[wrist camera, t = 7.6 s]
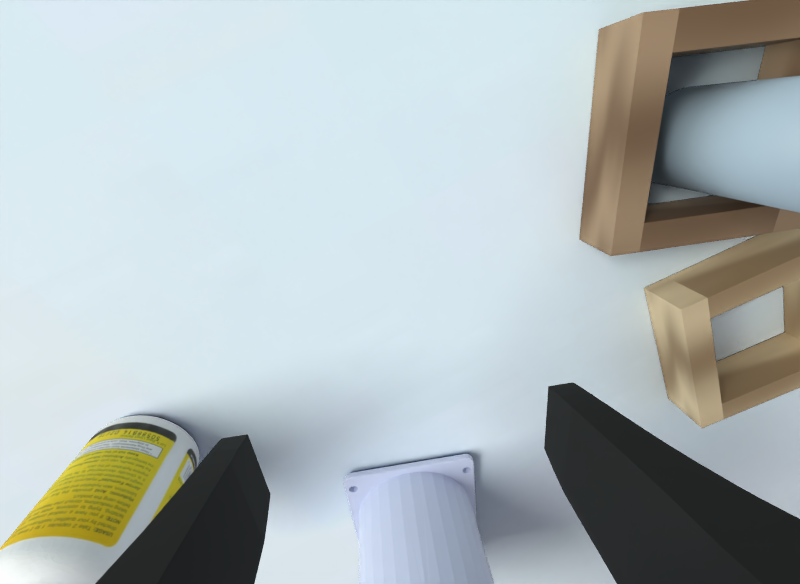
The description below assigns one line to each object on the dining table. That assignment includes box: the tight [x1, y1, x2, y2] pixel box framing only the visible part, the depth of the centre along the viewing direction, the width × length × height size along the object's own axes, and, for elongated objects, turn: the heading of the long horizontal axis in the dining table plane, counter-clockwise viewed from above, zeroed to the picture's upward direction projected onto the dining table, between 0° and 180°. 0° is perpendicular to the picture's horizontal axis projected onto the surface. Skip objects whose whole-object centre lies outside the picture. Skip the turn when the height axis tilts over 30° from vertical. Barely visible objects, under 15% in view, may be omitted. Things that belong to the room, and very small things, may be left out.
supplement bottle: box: [0, 415, 199, 584], centre depth 16 cm, size 5×5×10 cm
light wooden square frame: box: [644, 229, 800, 428], centre depth 20 cm, size 8×8×2 cm
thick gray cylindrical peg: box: [651, 76, 800, 213], centre depth 13 cm, size 4×4×8 cm
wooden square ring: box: [580, 0, 800, 256], centre depth 15 cm, size 8×8×2 cm
